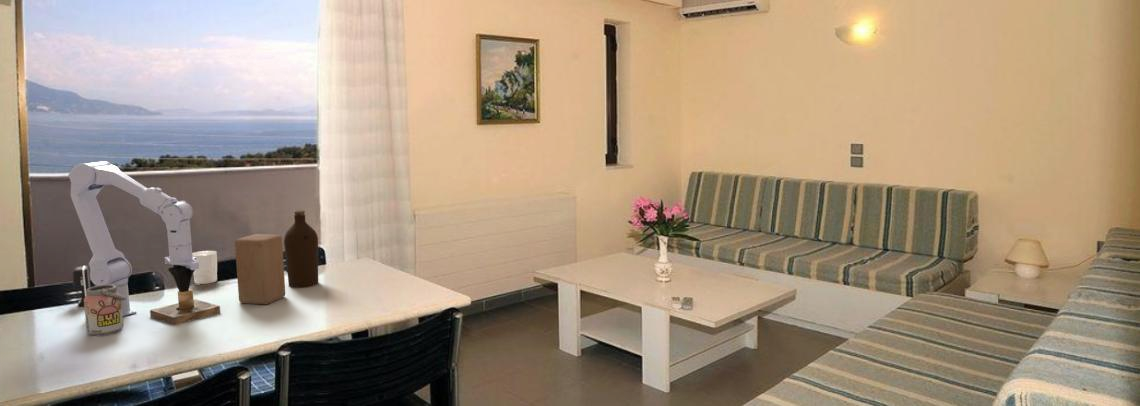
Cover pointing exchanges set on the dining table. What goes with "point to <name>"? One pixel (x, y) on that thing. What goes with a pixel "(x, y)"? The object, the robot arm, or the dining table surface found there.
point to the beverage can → (103, 310)
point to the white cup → (205, 267)
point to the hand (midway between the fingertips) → (183, 291)
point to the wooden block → (260, 268)
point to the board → (184, 312)
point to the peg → (186, 300)
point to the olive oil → (301, 253)
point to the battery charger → (81, 281)
